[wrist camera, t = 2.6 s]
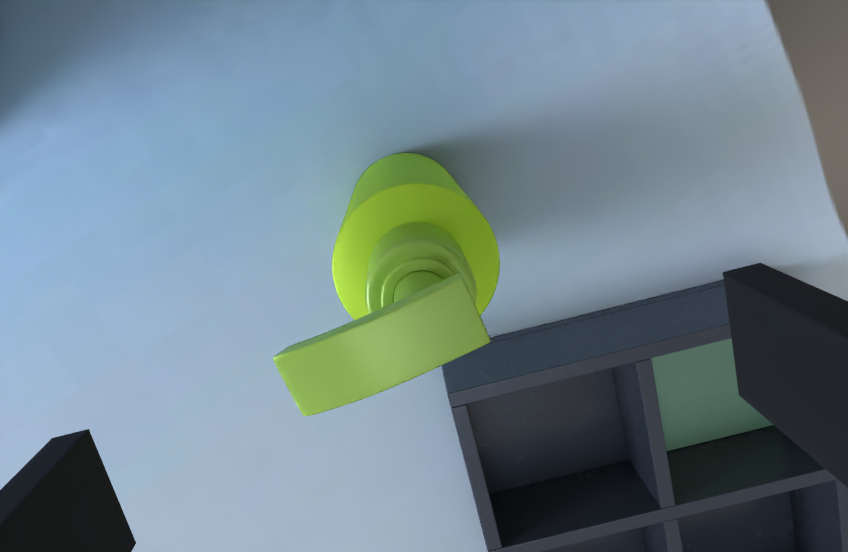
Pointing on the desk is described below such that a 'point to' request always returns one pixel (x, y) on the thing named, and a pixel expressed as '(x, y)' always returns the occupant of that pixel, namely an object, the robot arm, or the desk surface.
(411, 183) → the soap dispenser
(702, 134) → the desk surface
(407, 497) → the desk surface
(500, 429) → the rack
